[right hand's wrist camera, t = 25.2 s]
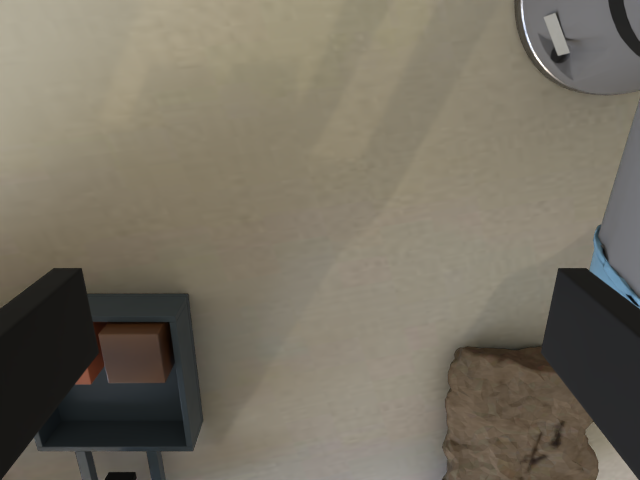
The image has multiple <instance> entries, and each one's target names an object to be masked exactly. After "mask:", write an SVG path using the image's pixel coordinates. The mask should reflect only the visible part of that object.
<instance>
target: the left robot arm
mask: <svg viewBox="0 0 640 480" xmlns="http://www.w3.org/2000/svg"><path fill="white" fill-rule="evenodd" d="M136 478H137V477H136V472H109V473H108V475H107V477H106V478H105V480H136Z"/></svg>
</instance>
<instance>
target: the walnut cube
mask: <svg viewBox="0 0 640 480" xmlns="http://www.w3.org/2000/svg"><path fill="white" fill-rule="evenodd" d="M98 336H99V341H100V345H101V350H102V355H103V360H104V364H105V369H106V374H107V379H108V383H165V382H166V380H167V378H168V376H169V374H170V372H171V370H172V368H173V366H174V364H175V359H174V352H173V345H172V337H171V330H170V323H169V322H108V323H107V324H106V326H105V327H104V328H103V329H102V330H101V332H100V333H99V334H98Z"/></svg>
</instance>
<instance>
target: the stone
mask: <svg viewBox="0 0 640 480" xmlns="http://www.w3.org/2000/svg"><path fill="white" fill-rule="evenodd" d="M541 349H542V347H539V346H538V347H535V348H533V347H529V348H524V349H520V350H509V349H495V348H477V347H465V348H459V349H457V350H456V352H455V354H454V356H455V359H454V360H453V362H452V363H451V365H450V369H449V371H448V383H449V385H450V387H451V388H450V390H449V392H448V393H447V397H446V398H445V408H446V412H447V425H448V433H447V435H446V438H445V440H444V442H443V446H442V448H443V450H444V453H445V455H446V457H447V459H448V460H447V473H446V475H445V476H444V477H443V479H442V480H596V478H597V475H598V472H599V470H598V460H597V457H596V454H595V452H594V451H593V449H592V448H591V447H590V445H589V443H588V438H587V437H586V435H585V429H586V428H587V427H588V426H589V425H590V424H591V423H592V422H594V421H593V420H592V418H591V417H590V416H589V415H588V413H587V412H586V411H585V409H584V408H583V407H582V406H581V404H580V403H579V402H578V400H577V399H576V398H575V396H574V395H573V394H572V393H571V391H570V390H569V389H568V387H567V386H566V385H565V384H564V382H563V381H562V380H561V378H560V377H559V376H558V374H557V373H556V372H555V371H554V369H553V368H552V367H551V365H550V364H549V363H548V361H547V360H546V359H545V358H544V356H543V355H542V354H541Z"/></svg>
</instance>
